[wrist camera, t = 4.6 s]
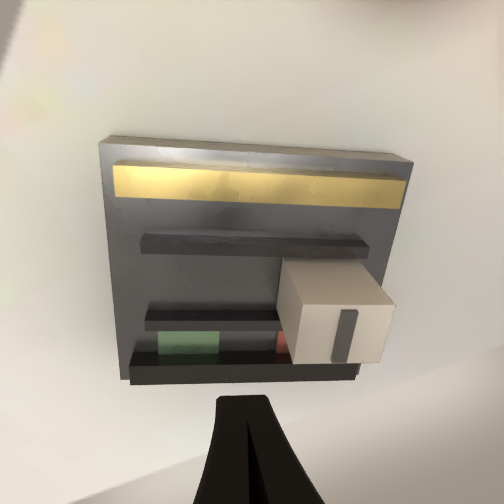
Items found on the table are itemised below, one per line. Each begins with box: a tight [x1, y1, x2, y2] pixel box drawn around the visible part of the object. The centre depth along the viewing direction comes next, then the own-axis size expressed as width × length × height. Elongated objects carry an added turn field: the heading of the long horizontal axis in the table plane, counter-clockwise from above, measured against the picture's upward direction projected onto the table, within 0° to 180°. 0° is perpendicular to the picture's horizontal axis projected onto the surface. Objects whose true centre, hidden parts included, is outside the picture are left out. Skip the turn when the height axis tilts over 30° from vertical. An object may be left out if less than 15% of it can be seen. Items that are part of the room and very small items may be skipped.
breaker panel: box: [98, 136, 414, 385], centre depth 18 cm, size 13×12×3 cm
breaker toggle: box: [276, 257, 396, 364], centre depth 16 cm, size 4×3×4 cm
